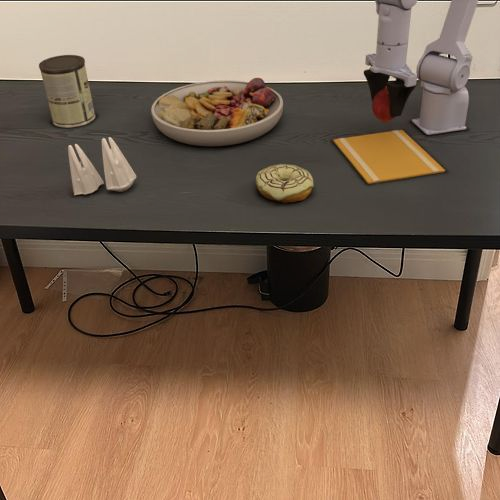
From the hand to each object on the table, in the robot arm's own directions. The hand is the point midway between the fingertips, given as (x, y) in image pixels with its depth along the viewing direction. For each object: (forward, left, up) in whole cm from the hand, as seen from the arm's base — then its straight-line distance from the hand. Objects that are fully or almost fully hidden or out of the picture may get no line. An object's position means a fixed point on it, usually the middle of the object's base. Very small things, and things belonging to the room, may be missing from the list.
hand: (386, 110), depth 125 cm
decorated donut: (+24, +9, -10) cm, 27 cm away
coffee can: (+63, -40, -10) cm, 75 cm away
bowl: (+30, -26, -10) cm, 41 cm away
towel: (0, +1, -10) cm, 10 cm away
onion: (0, 0, -3) cm, 3 cm away
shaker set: (+57, -2, -10) cm, 58 cm away
